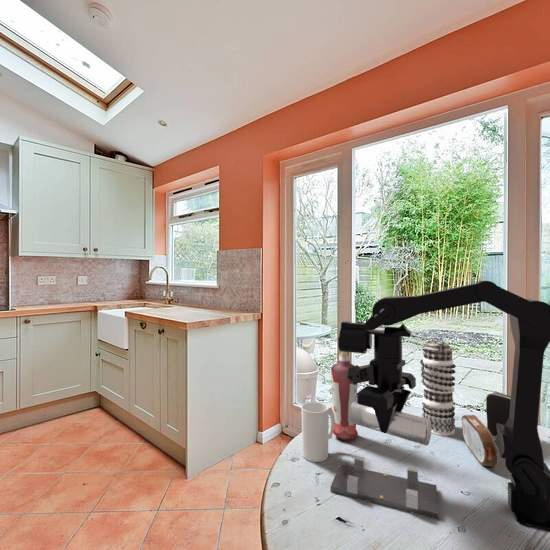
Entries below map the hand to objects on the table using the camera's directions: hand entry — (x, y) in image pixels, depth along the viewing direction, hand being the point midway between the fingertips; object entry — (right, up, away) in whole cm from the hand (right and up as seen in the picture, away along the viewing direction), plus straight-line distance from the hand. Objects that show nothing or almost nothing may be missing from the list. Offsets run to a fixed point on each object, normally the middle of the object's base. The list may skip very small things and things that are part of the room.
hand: (388, 428), depth 70 cm
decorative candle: (+23, -12, +24) cm, 35 cm away
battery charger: (+38, -12, +20) cm, 45 cm away
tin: (+25, -12, +10) cm, 30 cm away
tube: (0, -1, 0) cm, 1 cm away
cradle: (-2, -12, -3) cm, 12 cm away
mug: (-13, -12, +12) cm, 21 cm away
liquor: (-5, -12, +20) cm, 24 cm away
